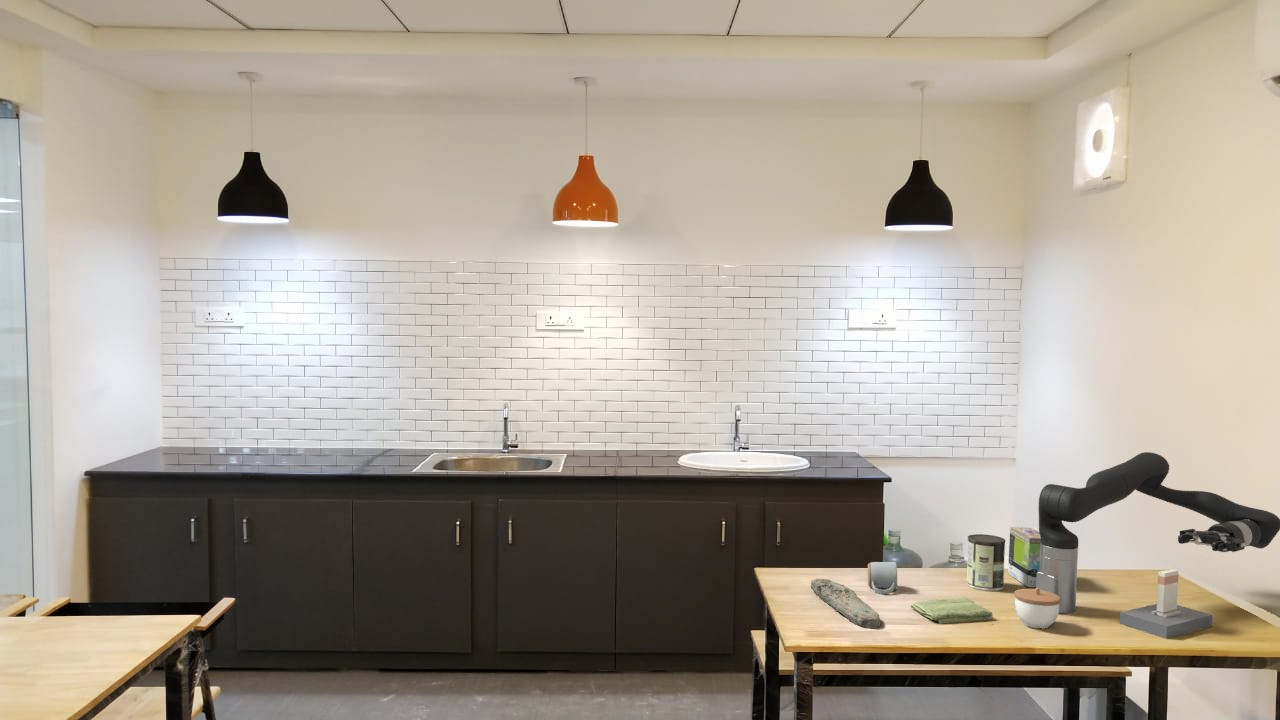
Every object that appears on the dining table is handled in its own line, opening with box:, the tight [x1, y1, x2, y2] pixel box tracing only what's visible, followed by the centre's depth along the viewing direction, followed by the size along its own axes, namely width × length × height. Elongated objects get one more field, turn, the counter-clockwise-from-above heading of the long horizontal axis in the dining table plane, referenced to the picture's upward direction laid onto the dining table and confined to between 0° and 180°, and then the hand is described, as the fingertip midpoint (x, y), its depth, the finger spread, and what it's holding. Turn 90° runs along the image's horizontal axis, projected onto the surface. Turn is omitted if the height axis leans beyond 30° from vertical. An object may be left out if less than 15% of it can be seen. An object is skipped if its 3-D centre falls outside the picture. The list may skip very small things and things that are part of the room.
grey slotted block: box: [1119, 603, 1213, 639], centre depth 235 cm, size 20×12×4 cm, turn 120°
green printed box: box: [1007, 526, 1041, 588], centre depth 273 cm, size 15×10×15 cm, turn 179°
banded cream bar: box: [1156, 568, 1179, 617], centre depth 235 cm, size 6×2×13 cm, turn 119°
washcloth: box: [910, 596, 993, 625], centre depth 240 cm, size 13×18×3 cm
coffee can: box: [965, 533, 1007, 592], centre depth 266 cm, size 10×10×14 cm
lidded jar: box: [1013, 587, 1060, 630], centre depth 233 cm, size 11×11×9 cm
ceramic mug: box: [867, 561, 898, 595], centre depth 261 cm, size 11×8×8 cm
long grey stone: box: [810, 578, 881, 629], centre depth 245 cm, size 35×5×10 cm
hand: (1196, 543), depth 239 cm, fingers open, 8 cm apart
